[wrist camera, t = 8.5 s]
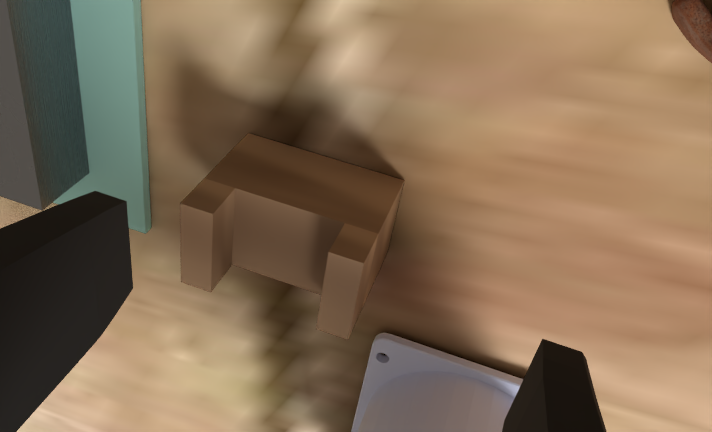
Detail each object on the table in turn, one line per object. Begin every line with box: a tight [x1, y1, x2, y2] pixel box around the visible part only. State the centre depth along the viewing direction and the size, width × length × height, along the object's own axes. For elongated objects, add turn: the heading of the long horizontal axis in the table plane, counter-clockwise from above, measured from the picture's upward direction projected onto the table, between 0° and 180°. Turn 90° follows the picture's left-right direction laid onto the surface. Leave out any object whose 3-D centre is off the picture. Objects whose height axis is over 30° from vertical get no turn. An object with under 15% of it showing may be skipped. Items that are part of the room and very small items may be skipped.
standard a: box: [180, 133, 404, 340], centre depth 21 cm, size 3×5×4 cm, turn 81°
